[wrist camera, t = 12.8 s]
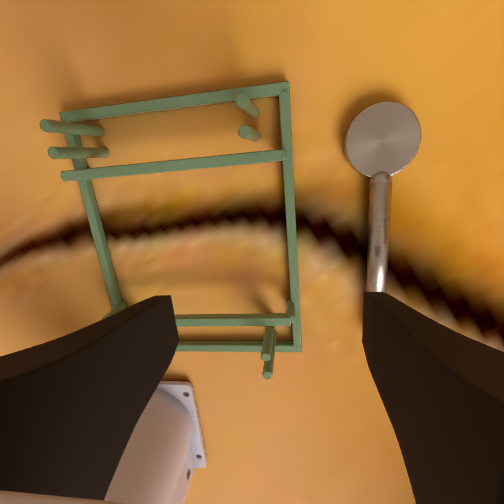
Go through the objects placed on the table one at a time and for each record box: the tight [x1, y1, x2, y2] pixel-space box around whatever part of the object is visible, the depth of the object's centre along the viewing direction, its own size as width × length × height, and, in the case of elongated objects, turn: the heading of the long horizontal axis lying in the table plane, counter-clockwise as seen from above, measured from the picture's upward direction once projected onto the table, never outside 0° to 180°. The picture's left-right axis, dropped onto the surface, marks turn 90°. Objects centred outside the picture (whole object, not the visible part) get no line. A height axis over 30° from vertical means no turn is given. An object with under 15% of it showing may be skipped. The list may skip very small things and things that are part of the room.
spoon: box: [344, 101, 421, 293], centre depth 18 cm, size 15×4×1 cm, turn 6°
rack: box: [40, 81, 302, 379], centre depth 18 cm, size 18×14×4 cm
